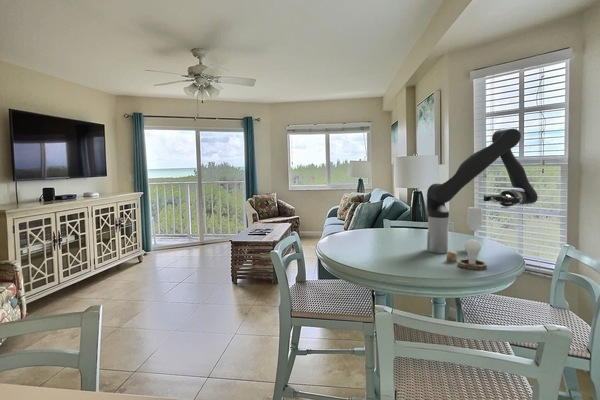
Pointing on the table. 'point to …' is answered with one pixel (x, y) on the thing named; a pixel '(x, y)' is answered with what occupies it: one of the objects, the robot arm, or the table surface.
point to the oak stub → (451, 256)
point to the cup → (474, 218)
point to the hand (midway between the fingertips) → (494, 199)
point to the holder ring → (478, 265)
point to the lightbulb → (472, 250)
